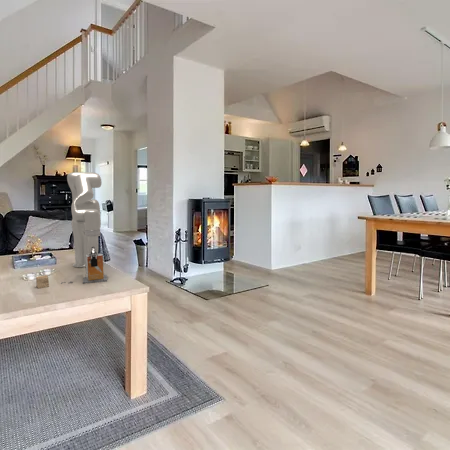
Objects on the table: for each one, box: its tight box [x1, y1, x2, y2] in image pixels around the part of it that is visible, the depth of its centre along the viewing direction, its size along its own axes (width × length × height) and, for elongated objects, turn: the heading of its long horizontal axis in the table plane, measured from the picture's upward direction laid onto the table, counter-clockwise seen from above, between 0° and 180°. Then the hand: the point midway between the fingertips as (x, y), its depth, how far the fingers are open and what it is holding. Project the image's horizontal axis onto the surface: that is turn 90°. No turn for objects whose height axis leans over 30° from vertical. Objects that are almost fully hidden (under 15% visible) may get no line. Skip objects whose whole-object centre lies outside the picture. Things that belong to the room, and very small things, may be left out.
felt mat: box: [82, 274, 108, 284], centre depth 187 cm, size 12×12×1 cm
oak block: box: [35, 275, 50, 289], centre depth 175 cm, size 5×5×5 cm
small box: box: [85, 253, 105, 281], centre depth 187 cm, size 8×6×13 cm
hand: (94, 264), depth 187 cm, fingers open, 9 cm apart
